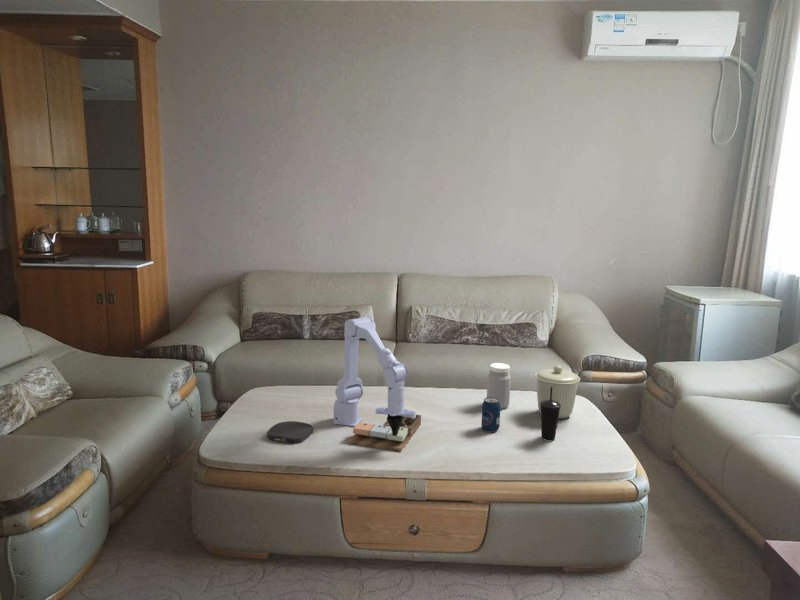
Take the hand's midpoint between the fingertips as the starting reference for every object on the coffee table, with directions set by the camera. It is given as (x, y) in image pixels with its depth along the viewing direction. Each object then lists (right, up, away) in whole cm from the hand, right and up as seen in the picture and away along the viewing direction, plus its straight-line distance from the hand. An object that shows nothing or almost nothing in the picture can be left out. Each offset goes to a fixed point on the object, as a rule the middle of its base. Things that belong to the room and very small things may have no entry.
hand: (395, 434), depth 215 cm
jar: (+44, +3, +44) cm, 62 cm away
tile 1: (-12, +1, +6) cm, 13 cm away
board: (-4, -2, +12) cm, 12 cm away
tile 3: (+1, 0, +2) cm, 2 cm away
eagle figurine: (+2, -1, +18) cm, 18 cm away
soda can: (+37, -2, +18) cm, 41 cm away
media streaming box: (-39, -3, +9) cm, 41 cm away
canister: (+66, 0, +35) cm, 75 cm away
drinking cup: (+57, -4, +11) cm, 58 cm away
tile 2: (-6, 0, +4) cm, 7 cm away
